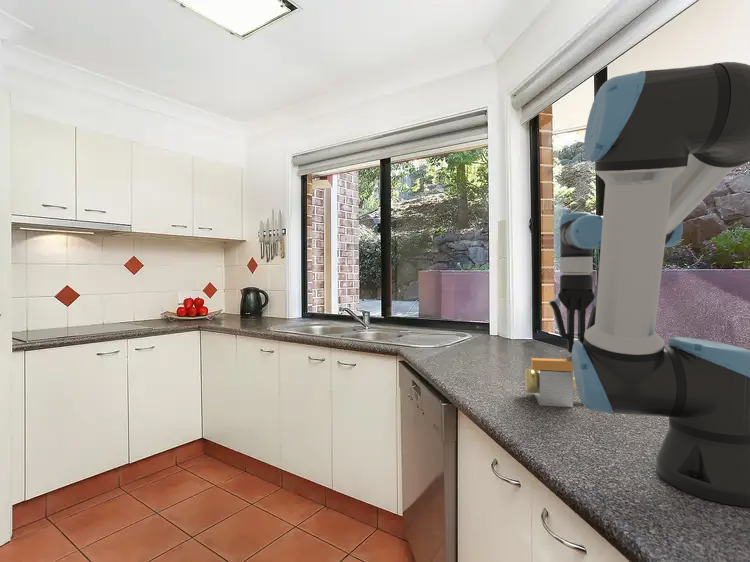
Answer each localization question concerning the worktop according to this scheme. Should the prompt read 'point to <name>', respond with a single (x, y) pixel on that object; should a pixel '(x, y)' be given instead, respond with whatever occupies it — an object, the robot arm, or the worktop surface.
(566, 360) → the bar
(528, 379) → the pin
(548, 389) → the block
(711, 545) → the worktop surface
